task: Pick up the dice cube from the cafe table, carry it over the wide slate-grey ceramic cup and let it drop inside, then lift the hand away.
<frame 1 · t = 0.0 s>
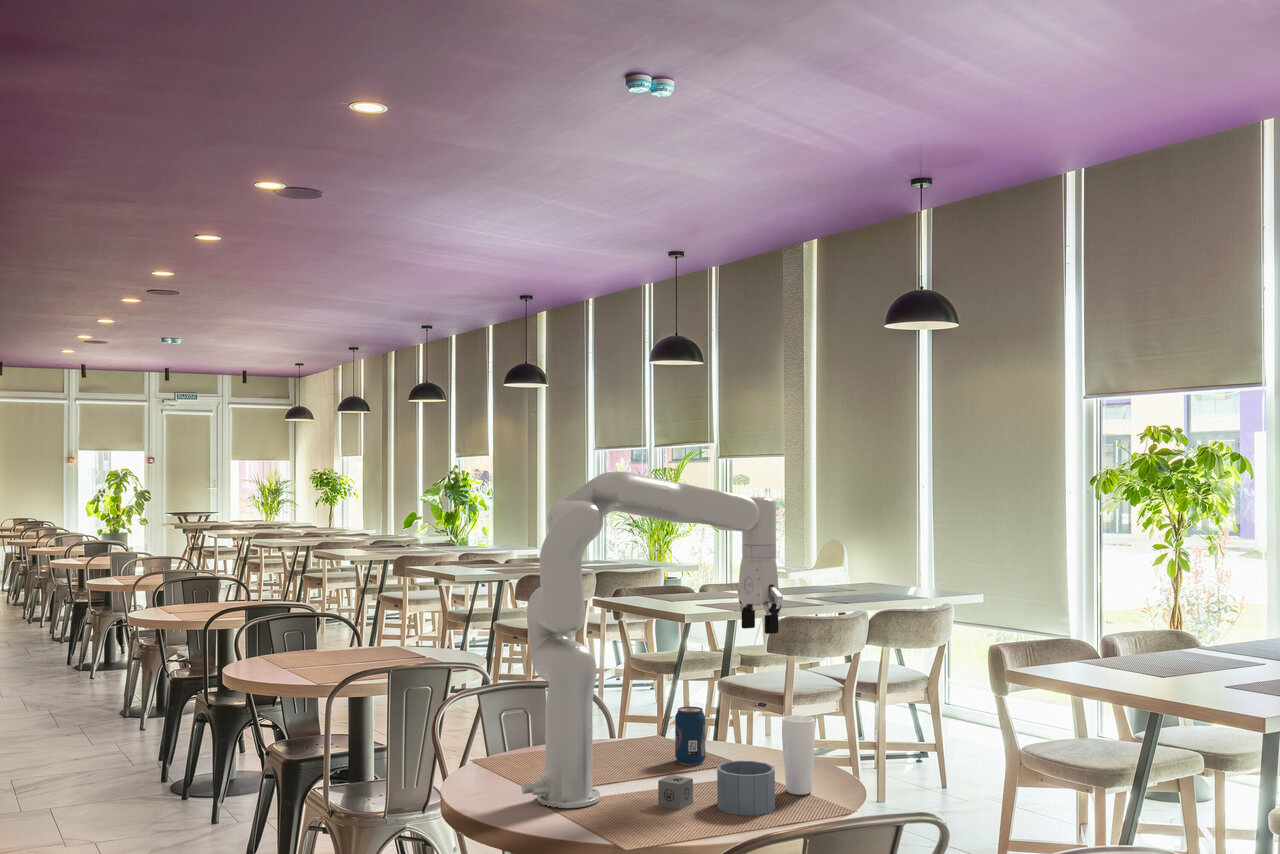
hand: (759, 630, 233), 31 cm above the table, fingers open, 9 cm apart
drinking glass: (798, 793, 217), on the table
dice cube: (675, 806, 209), on the table
soda can: (690, 762, 242), on the table
cup: (746, 806, 208), on the table
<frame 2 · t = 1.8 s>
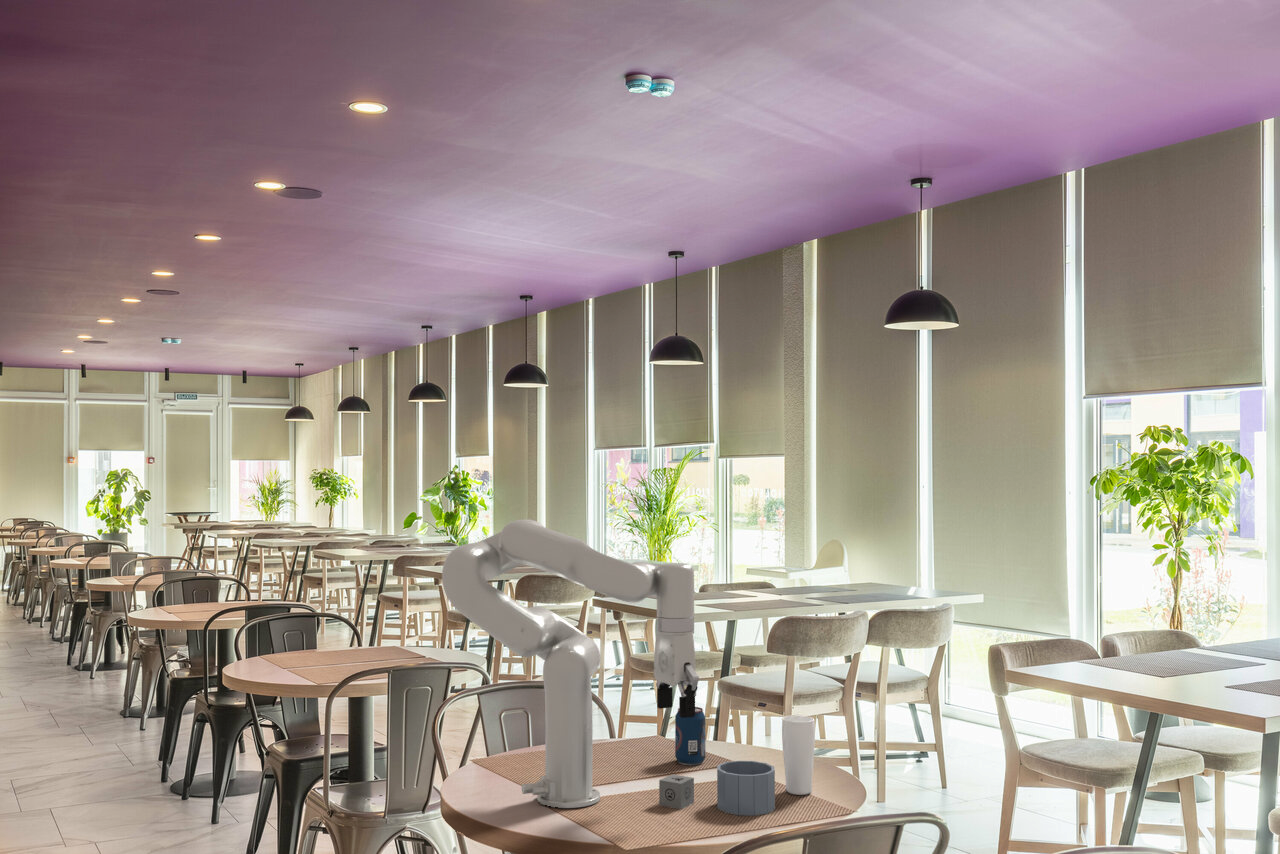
hand: (675, 712, 210), 18 cm above the table, fingers open, 9 cm apart
nothing on the table moved.
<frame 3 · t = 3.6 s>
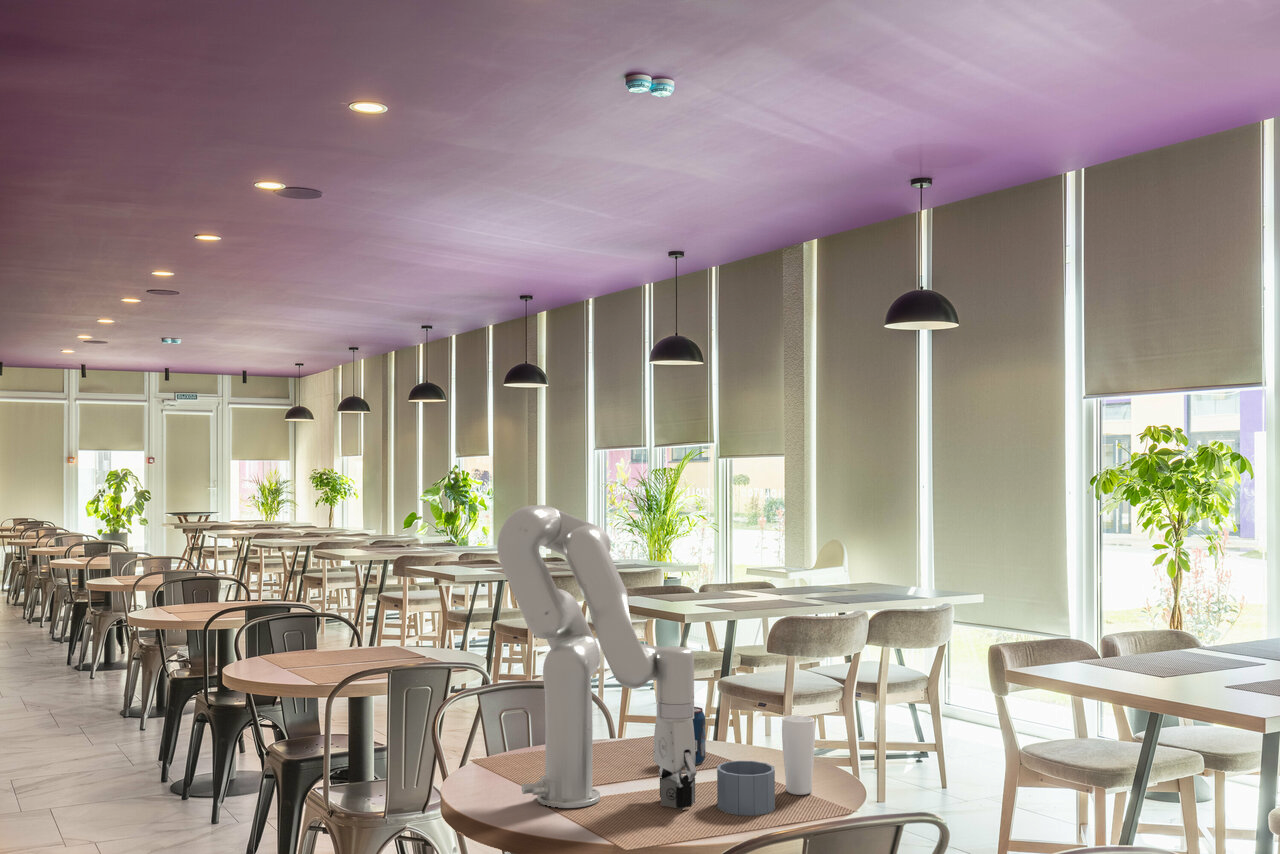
hand: (675, 801, 209), 1 cm above the table, fingers closed on dice cube, 6 cm apart
dice cube: (678, 805, 210), on the table, touching gripper
everything else where it was.
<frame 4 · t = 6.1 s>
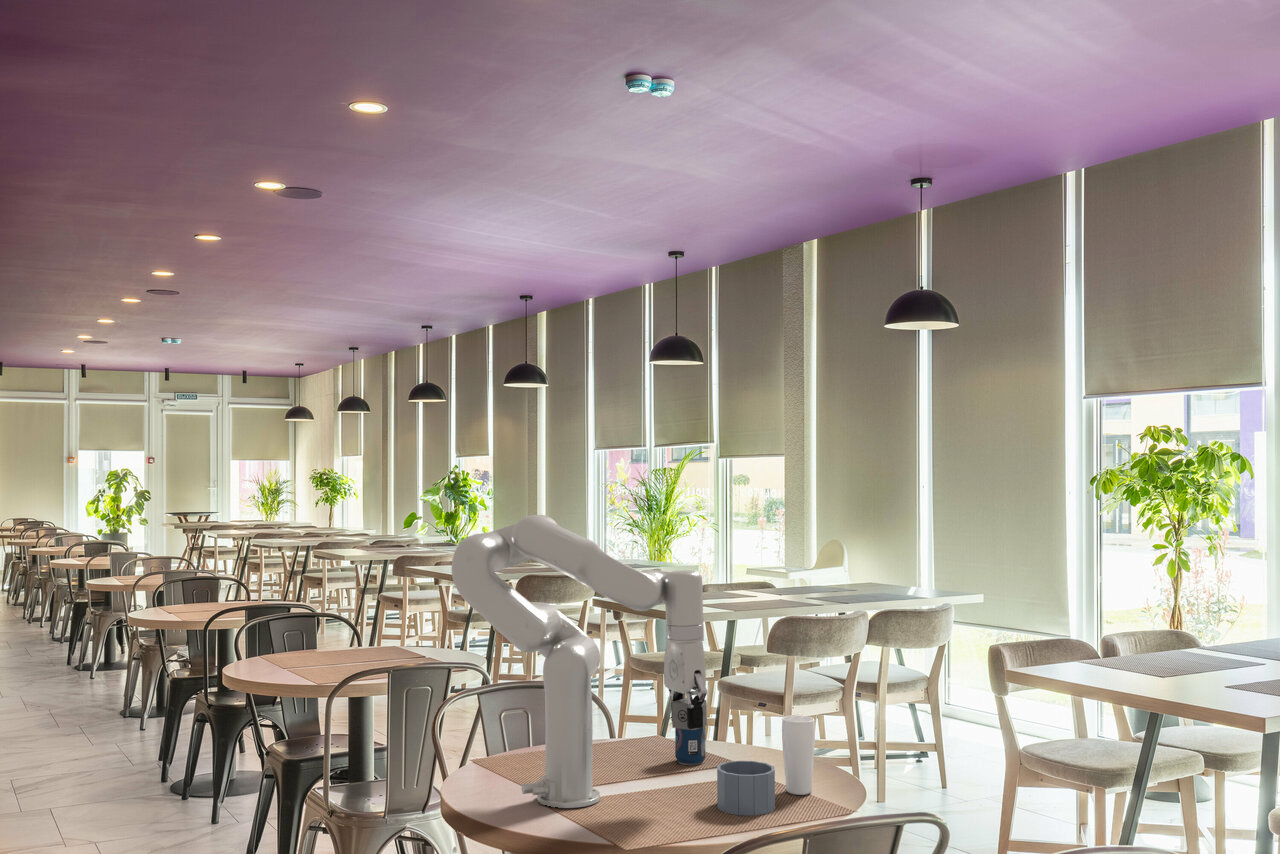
hand: (687, 723, 210), 16 cm above the table, fingers closed on dice cube, 6 cm apart
dice cube: (689, 727, 210), point 15 cm above the table, touching gripper
everything else where it was.
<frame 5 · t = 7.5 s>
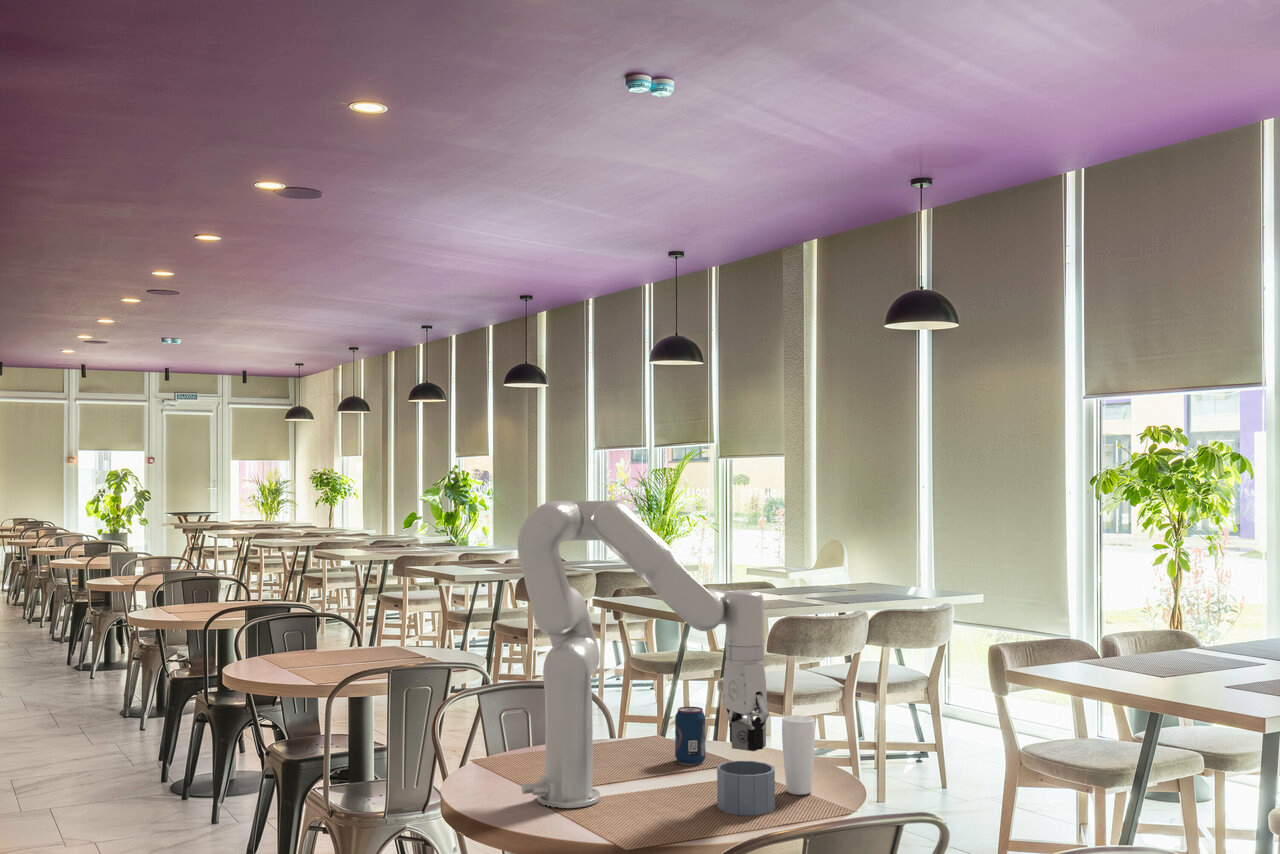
hand: (746, 744, 208), 12 cm above the table, fingers closed on dice cube, 6 cm apart
dice cube: (748, 748, 209), point 11 cm above the table, touching gripper
everything else where it was.
when the fingers open (9 cm above the table, at t = 8.4 s): dice cube drops 8 cm, resting on cup.
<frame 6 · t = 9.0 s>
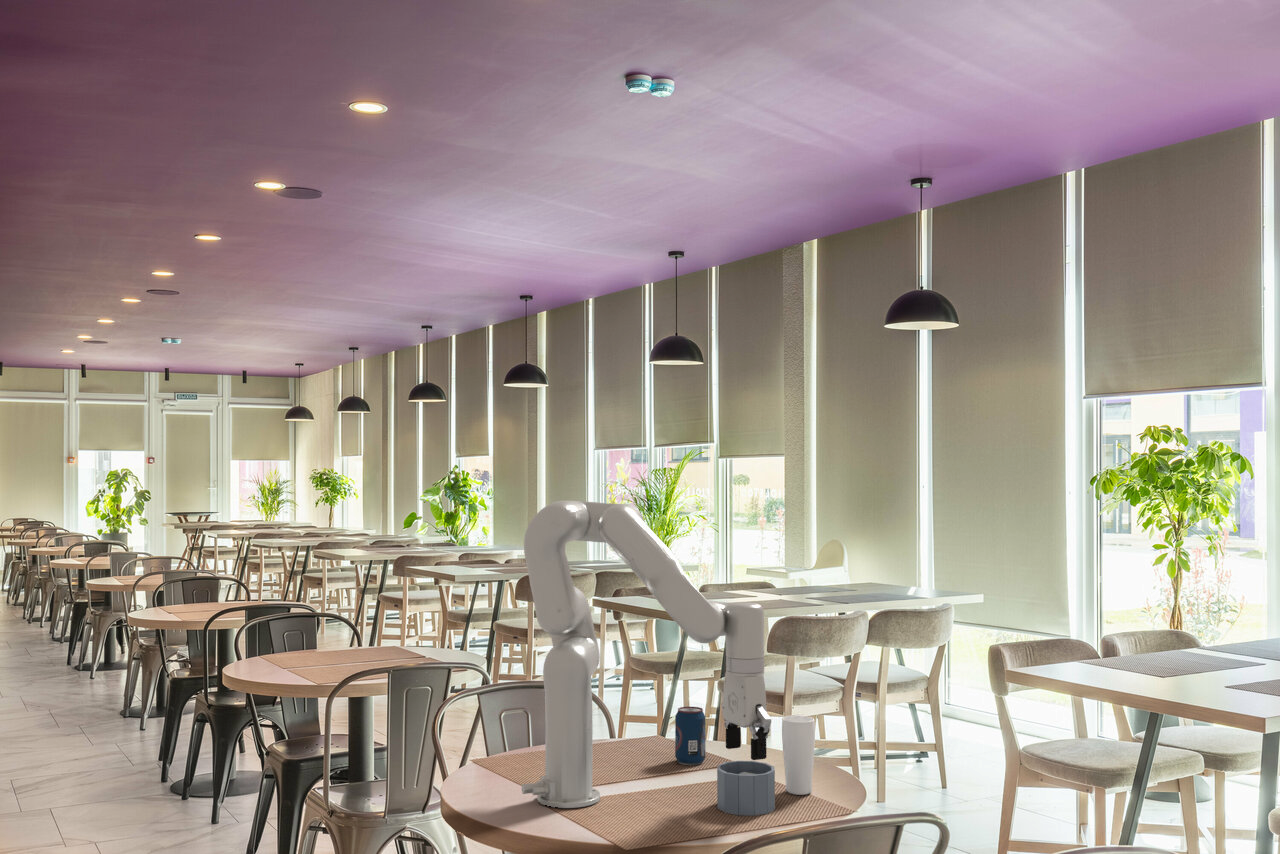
hand: (745, 753, 208), 10 cm above the table, fingers open, 9 cm apart
dice cube: (748, 803, 208), point 1 cm above the table, touching cup
everything else where it was.
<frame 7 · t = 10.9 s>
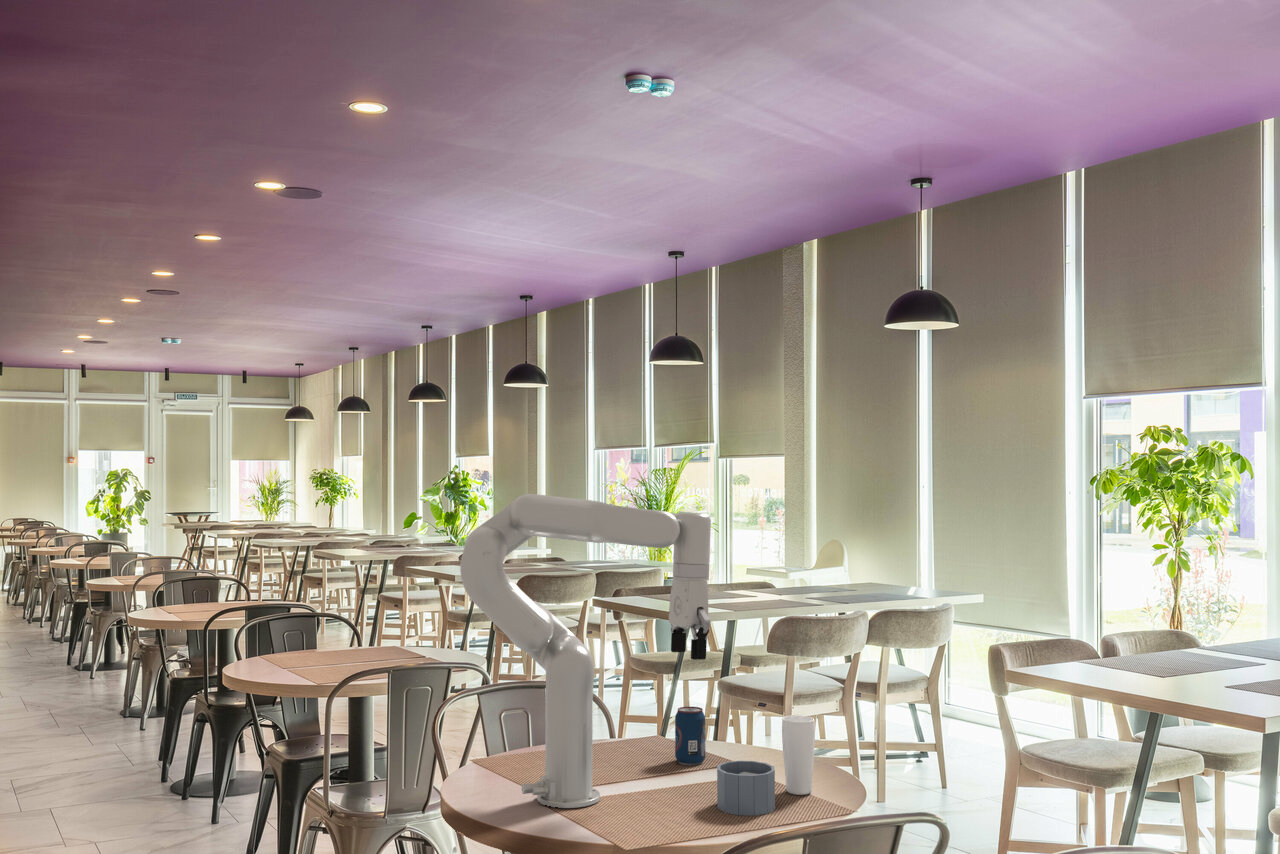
hand: (688, 655, 218), 28 cm above the table, fingers open, 9 cm apart
nothing on the table moved.
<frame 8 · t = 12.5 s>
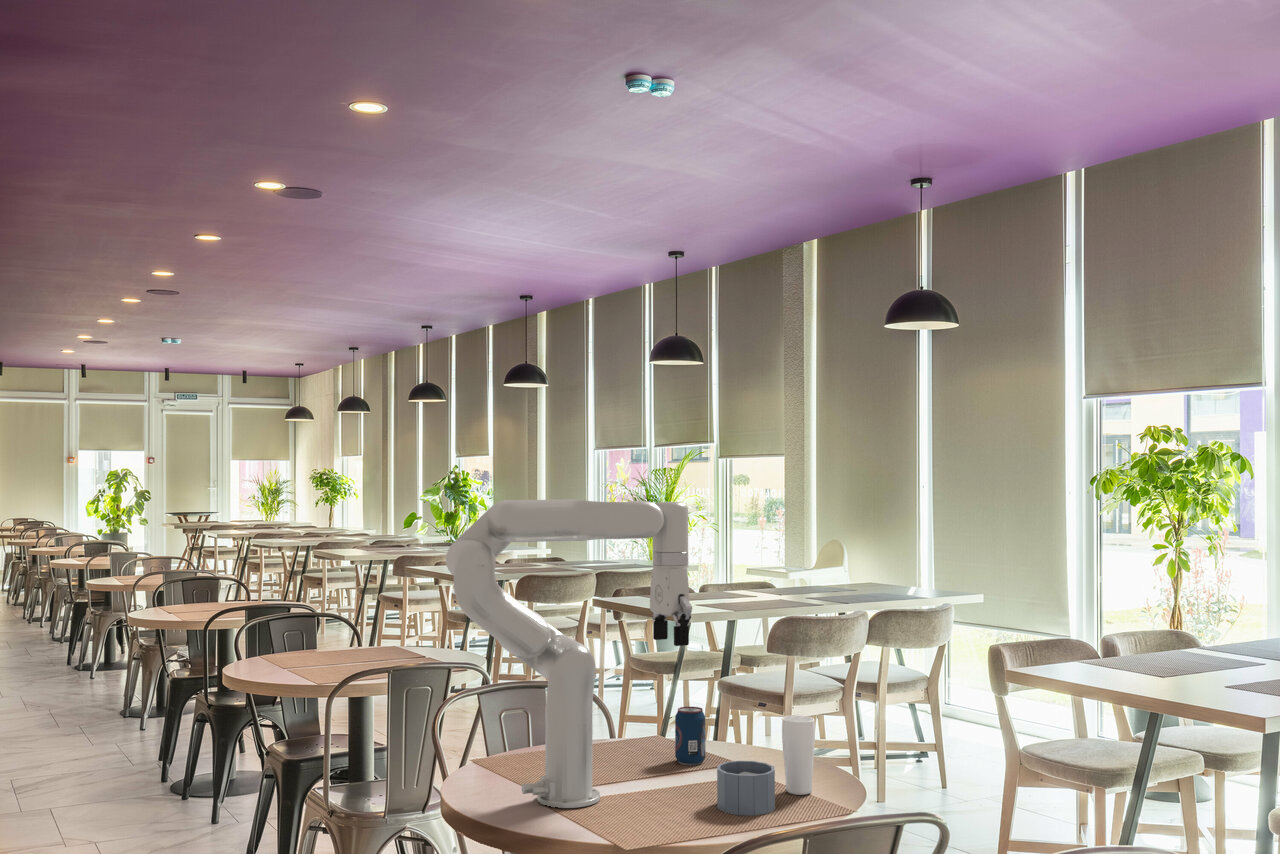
hand: (670, 642, 221), 30 cm above the table, fingers open, 9 cm apart
nothing on the table moved.
at the end: dice cube inside the target area on the cup (0.8 cm from its centre), point 0.6 cm above the cup's base; the gripper is holding nothing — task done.
